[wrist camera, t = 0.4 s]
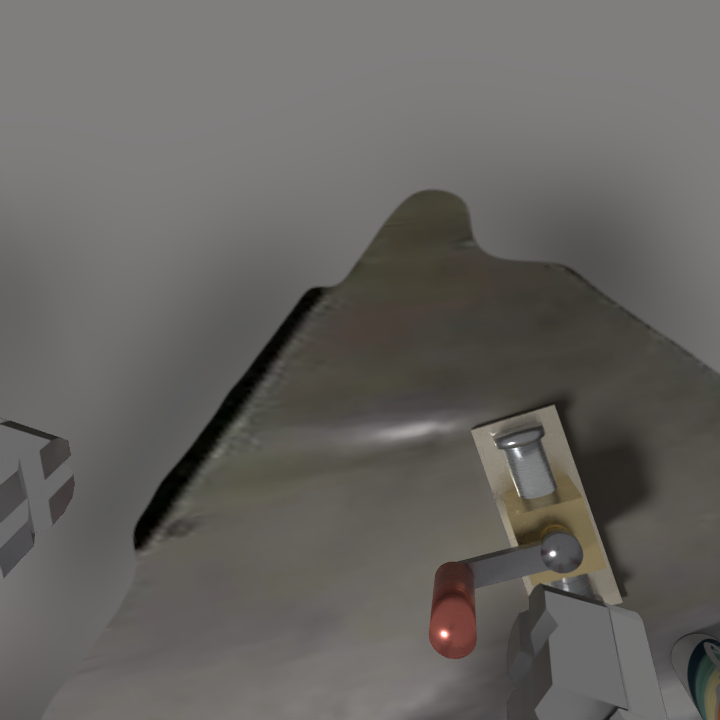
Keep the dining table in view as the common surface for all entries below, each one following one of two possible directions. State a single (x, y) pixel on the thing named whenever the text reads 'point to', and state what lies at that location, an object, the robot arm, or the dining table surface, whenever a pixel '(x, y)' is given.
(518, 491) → the pipe valve
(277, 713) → the dining table surface
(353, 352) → the dining table surface
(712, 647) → the lotion bottle
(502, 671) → the dining table surface
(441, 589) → the lever
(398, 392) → the dining table surface
